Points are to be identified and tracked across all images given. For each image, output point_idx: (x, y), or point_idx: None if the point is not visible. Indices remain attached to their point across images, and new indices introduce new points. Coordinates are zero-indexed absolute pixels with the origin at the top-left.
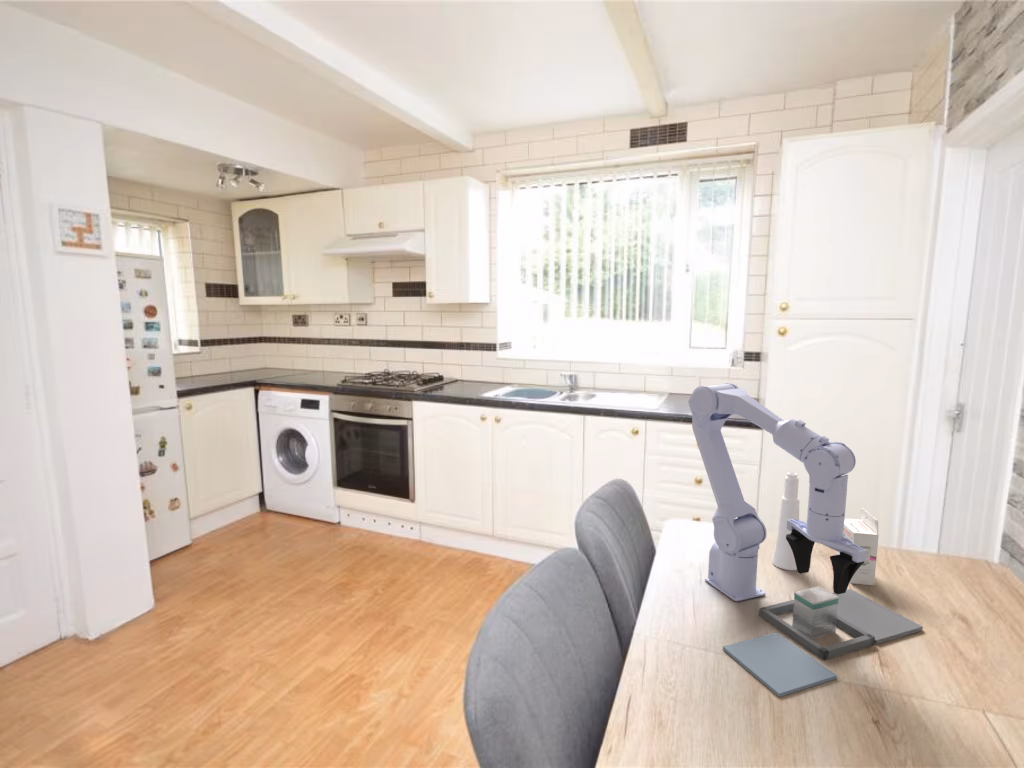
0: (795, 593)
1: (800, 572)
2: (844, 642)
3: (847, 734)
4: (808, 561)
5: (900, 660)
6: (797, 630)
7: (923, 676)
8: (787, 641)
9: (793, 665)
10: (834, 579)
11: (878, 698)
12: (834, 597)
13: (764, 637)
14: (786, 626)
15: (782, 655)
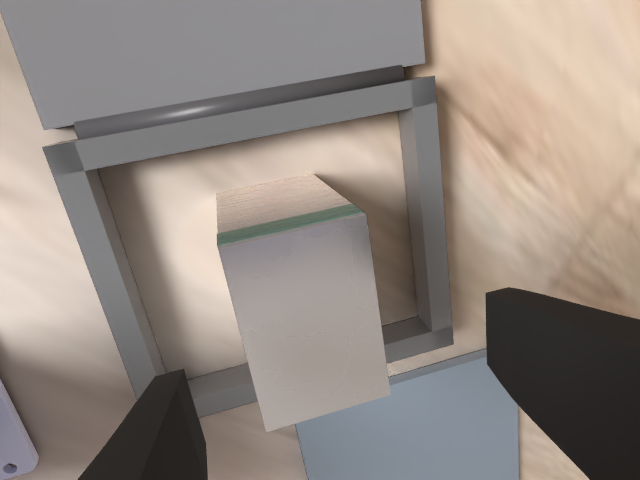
0: (270, 425)
1: (203, 449)
2: (431, 238)
3: None
4: (171, 447)
5: (511, 55)
6: None
7: (590, 54)
8: None
9: (450, 439)
10: (578, 456)
11: (595, 282)
12: (365, 244)
13: (313, 461)
14: None
15: (405, 448)
